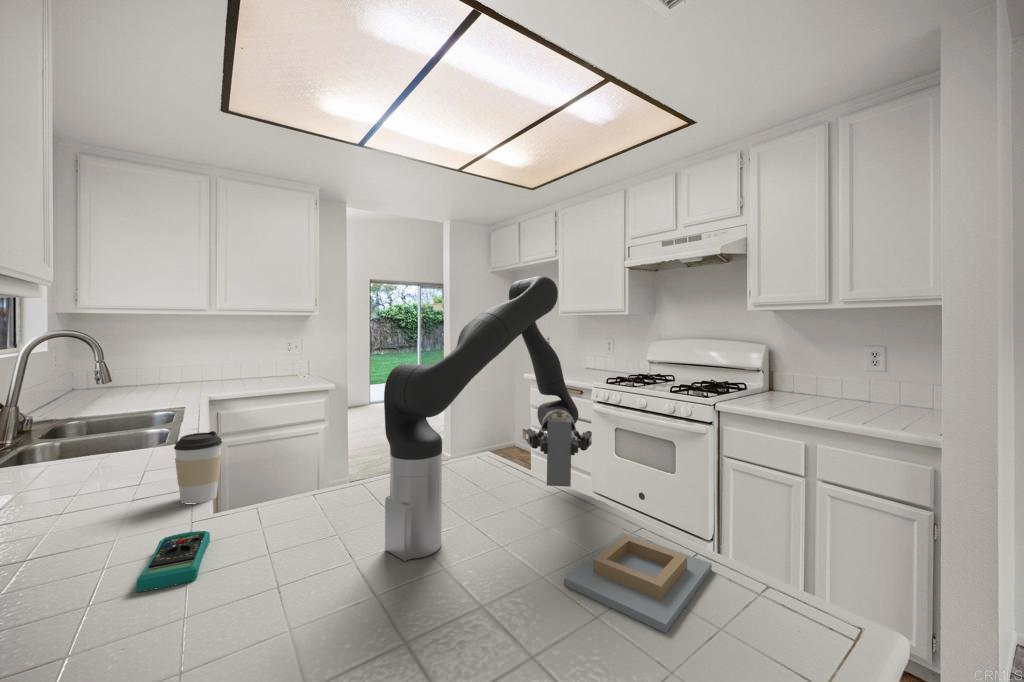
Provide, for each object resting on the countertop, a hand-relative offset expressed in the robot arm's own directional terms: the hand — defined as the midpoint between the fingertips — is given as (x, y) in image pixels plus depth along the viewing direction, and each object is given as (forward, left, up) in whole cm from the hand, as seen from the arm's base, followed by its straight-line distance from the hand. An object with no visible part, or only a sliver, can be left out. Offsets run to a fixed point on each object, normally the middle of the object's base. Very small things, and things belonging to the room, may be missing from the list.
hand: (559, 449), depth 79 cm
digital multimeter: (-48, +44, -18) cm, 68 cm away
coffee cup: (-38, +74, -18) cm, 85 cm away
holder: (0, -16, -18) cm, 24 cm away
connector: (+2, +2, -7) cm, 8 cm away
